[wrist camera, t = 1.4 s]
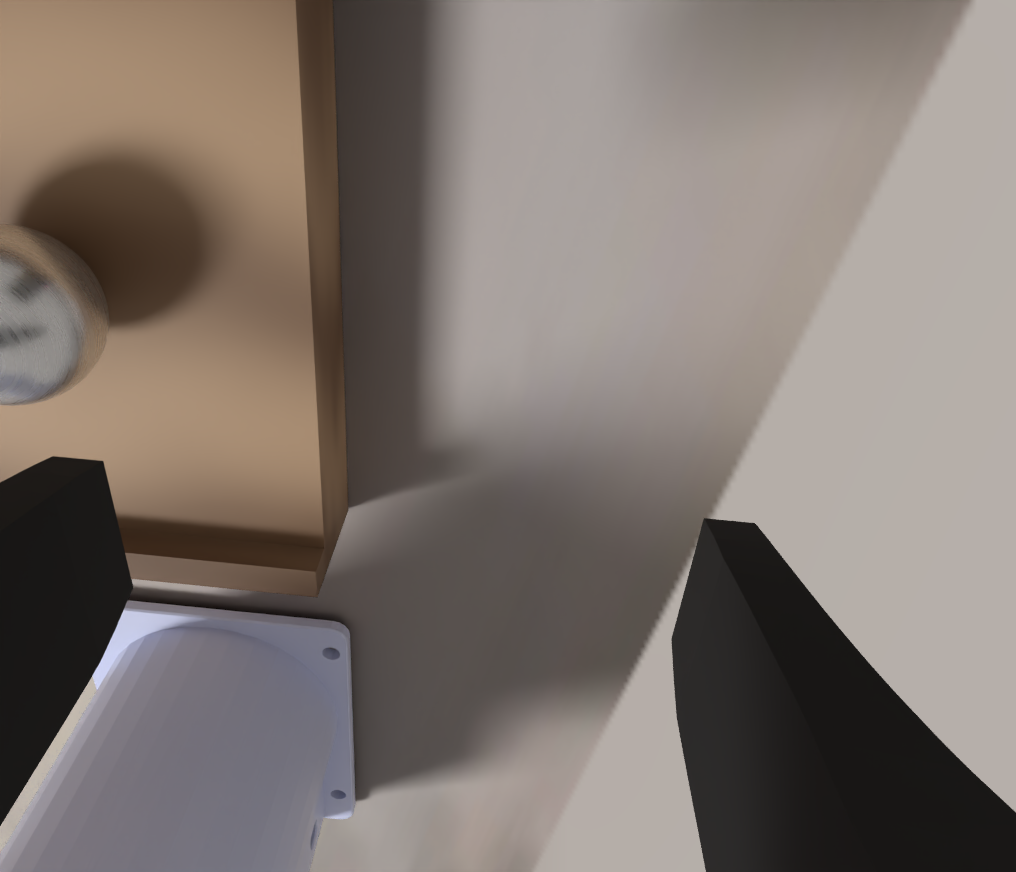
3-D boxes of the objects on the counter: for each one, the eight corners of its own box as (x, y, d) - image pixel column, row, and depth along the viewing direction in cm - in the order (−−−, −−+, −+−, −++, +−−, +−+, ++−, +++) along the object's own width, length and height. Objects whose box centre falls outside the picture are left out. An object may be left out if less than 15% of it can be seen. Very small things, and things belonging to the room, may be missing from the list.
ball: (150, 362, 17) (71, 448, 14) (-5, 346, 17) (-113, 430, 14) (123, 208, 15) (28, 274, 12) (-50, 191, 15) (-184, 252, 12)
